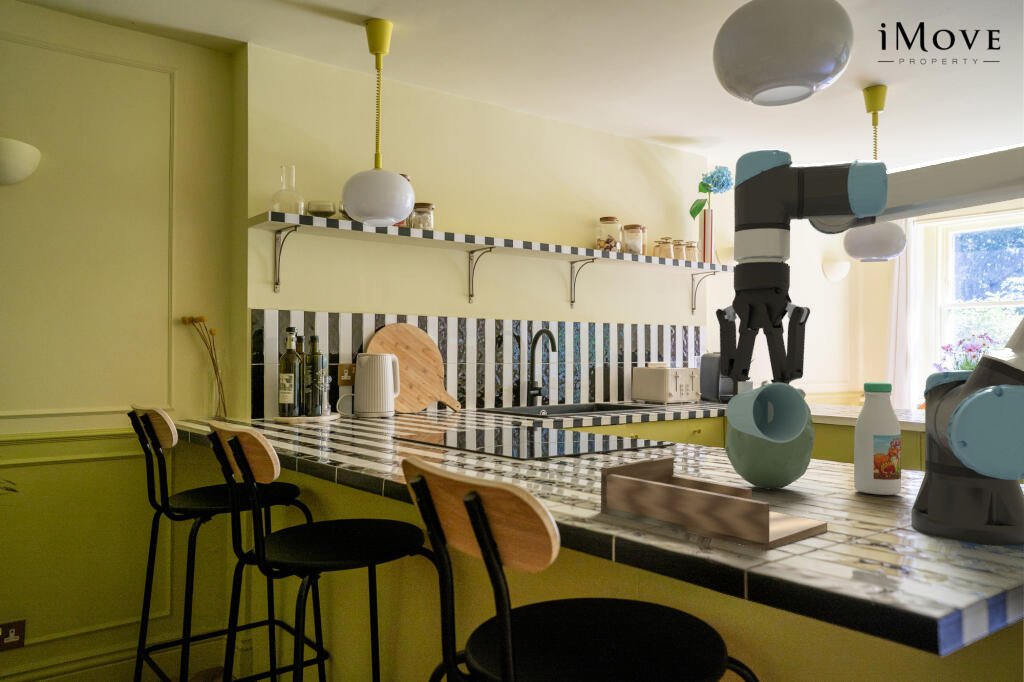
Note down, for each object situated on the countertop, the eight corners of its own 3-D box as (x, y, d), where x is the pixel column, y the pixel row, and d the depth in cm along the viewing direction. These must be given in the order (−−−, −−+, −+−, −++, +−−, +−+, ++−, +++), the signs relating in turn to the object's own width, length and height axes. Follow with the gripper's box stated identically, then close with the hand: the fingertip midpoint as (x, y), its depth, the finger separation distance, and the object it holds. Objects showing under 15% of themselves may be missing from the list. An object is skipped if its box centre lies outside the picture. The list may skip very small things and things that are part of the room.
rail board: (827, 532, 105) (827, 478, 105) (764, 555, 93) (764, 494, 93) (667, 500, 126) (667, 454, 126) (600, 515, 115) (601, 465, 115)
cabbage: (709, 490, 135) (709, 381, 135) (746, 475, 149) (746, 378, 149) (796, 502, 125) (797, 385, 125) (827, 485, 140) (827, 380, 140)
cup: (780, 407, 104) (819, 406, 94) (750, 450, 103) (786, 455, 93) (739, 374, 104) (773, 370, 94) (708, 418, 103) (740, 418, 92)
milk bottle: (855, 493, 132) (855, 383, 132) (852, 486, 139) (853, 381, 139) (903, 497, 129) (903, 384, 129) (898, 489, 136) (898, 382, 136)
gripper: (833, 260, 99) (831, 432, 99) (723, 268, 112) (722, 421, 112) (806, 255, 94) (804, 436, 94) (695, 265, 107) (693, 424, 107)
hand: (759, 428), depth 103 cm, fingers closed on cup, 4 cm apart
